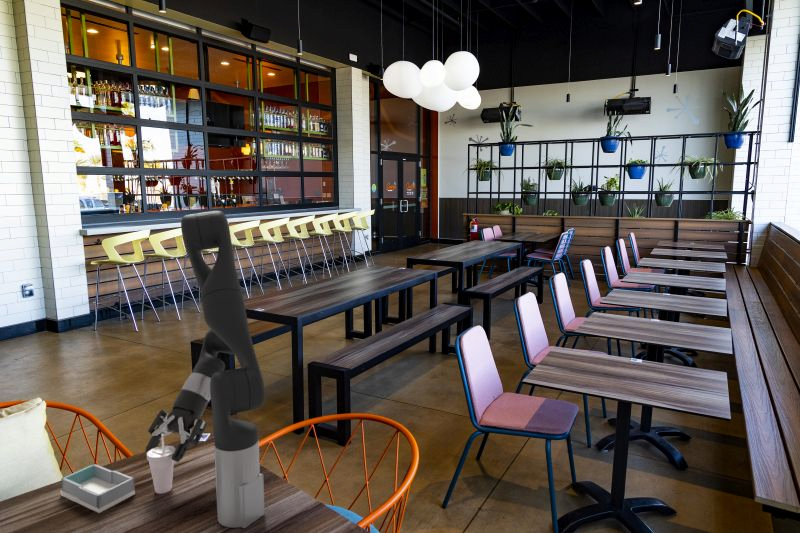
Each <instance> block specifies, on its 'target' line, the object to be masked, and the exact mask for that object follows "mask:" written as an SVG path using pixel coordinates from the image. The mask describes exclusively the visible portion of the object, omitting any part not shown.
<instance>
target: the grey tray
mask: <svg viewBox="0 0 800 533" xmlns="http://www.w3.org/2000/svg"><path fill="white" fill-rule="evenodd" d="M135 487H136V486H135V478H134V477H132V476H129V475H128V474H124V473H122V472H119V471H117V470H111V469H108V468H106V467H104V466H101V465H99V464H96V463H93V464H91V465H89V466H86V467H85V468H82V469H80V470H78V471H75V472H73V473H72V474H71V473H70V474H69V475H66V476H64V477H62V478H61V489H62V490H60V495H61V496H62V497H63V498H66V499H68V500H70V501H72V502H73V503H74V502H75V503H77V504H79V505H81V506H83V507H85V508H87V509H89V510H92V511H94V512H96V513H98V514H100V513H102V512H103V511H106V510H109V508H112V507H114V506H116V505H118V504H119V503H121V502H122V501H125V500H126V499H128V498H130V497H132V496H134V495H135V494H136V488H135Z"/></svg>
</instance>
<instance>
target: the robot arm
mask: <svg viewBox="0 0 800 533" xmlns="http://www.w3.org/2000/svg"><path fill="white" fill-rule="evenodd" d="M180 230H181V235H182V240H183V243H184V246H185V249H186V252H187V256H188V259H189V262H190V265H191V268H192V271H193V273H194V277H195V279H196V281H197V284H198V287H199V290H200V301H201V308H202V311H203V317H204V318H203V319H204V322H205V323H206V325H207V326H208V328H209V330H207V332H206V334H204V335H205V336H204V339H203V342H202V348H201V351H200V354H199V358H198V361H197V363H196V364H195V366H194V368H193V370H192V372H191V373H190V375H189V376H188V378H186V380H185V382H184V384H183V385H182V387H181V389H180V391H179V393H178V394H177V396H176V398H175V400H174V402H173V403H172V410H171V411H170V412H166V411H164V409H162V410H160V411H159V412H158V413H157V415H156V416H155V418H154V420H153V422H152V423H151V424H150V427H149V428H148V429H147V432H148V433H149V434H150V435H151V438H150V440H149V441H148V443H147V445H146V446H145V453H146V454H147V452H148V451H150V450H151V449H153V448H155V447H159V444H161V440H162V438H161V434H164V437H166V436H169V435H171V434H177V435H179V436H180V443H178V445H177V447H176V448H175V452H174V454H173V456H172V460H174V462H176V463H179V462H180V461H181V460H182V459H183V457H184V456H185V453H186V452H187V450H188V449H189V448H190V447H192V446H193V447H196V446H198V445H199V443H200V441H201V437H202V435H203V433H204V432H205V429H206V427H207V422H206V421H205V420H203V419H202V418H201V417H202V416H203V414H204V411H205V410H206V408H207V406H208V404H209V403H211V404H210V405H211V412H212V413H211V414H212V427H213V442H214V443H213V445H214V463H215V464H214V466H215V467H214V468H215V491H216V508H217V510H216V512H217V522H218V523H219V524H220V525H221V526H223V527H226V528H231V529H233V528H243V529H246V528H247V527H249V526H250V525H251V524H253V523H254V522H256V521H257V520H258V519H260V518H261V517H263V516H264V515H265V514H266V512H265V511H266V510H265V488H264V487H265V486H264V484H265V483H264V474H263V473H260V472H261V471H260V469H261V468H260V443H259V442H260V438H259V428H258V426H257V425H256V424H254V423H253V422H250V421H247V420H242V419H235V418H233V417H230V416H231V415H234V414H239V413H244V412H249V411H253V410H258V409H261V408H262V407H263V405H264V404H265V400H266V389H265V388H266V387H265V382H264V379H263V374H262V371H261V368H260V364H259V361H258V358H257V354H256V351H255V348H254V344H253V340H252V337H251V333H250V332H251V331H250V327H249V321H248V317H247V312H246V311H247V310H246V305H245V300H244V296H243V295H244V294H243V291H242V287H241V284H240V280H239V277H238V272H237V269H236V262H235V257H234V250H233V245H232V244H233V243H232V235H231V231H230V224H229V222H228V218H227V216H226V214H225V213H224V212H223V211H221V210H212V211H204V212H197V213H192V214H186V215H183V216H182V217H181V220H180ZM212 249H218V250H217V255H216V256H217V257H216V259H215V263H214V265H213V267H212V268H211V267H210V266H209V265H208V264H207V262H206V261H205V259H204V258H203V255H202V252H201V251H207V250H212ZM219 353H224V354H228V355H235V357H236V359H237V361H238V363H239V365H240V367H239V368H234V369H233V368H232V369H227V370H226V369H225V368H226V364H225V362H224V361H223V360H222V359H221V358H219V357H218V354H219Z"/></svg>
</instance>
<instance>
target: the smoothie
mask: <svg viewBox="0 0 800 533" xmlns="http://www.w3.org/2000/svg"><path fill="white" fill-rule="evenodd" d="M161 438H162V439H161V445H160V446H159V445H158V446H157V447H155V448H153V449H151V450H150V451H148V452H147V453H146V459H147V461H148V463H149V468H150V473H151V474H150V475H151V477H152V482H153V484H152V485H153V487H154V488H153V489H154V492H155V493H156V494H159V495H160V494H165V493H168V492H170V491H171V490H172V489H173V488H172V487H173V477H174V466H175V461H174V460H172V456H173V454H174V452H175V450H176V447H175V446H173V445H165V436H164V434H161Z"/></svg>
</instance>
